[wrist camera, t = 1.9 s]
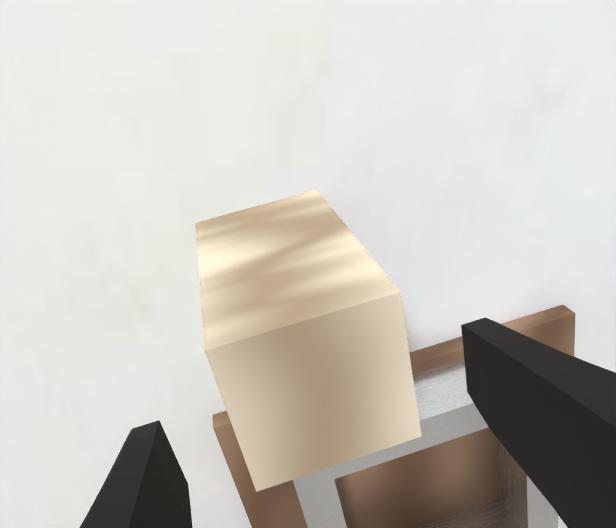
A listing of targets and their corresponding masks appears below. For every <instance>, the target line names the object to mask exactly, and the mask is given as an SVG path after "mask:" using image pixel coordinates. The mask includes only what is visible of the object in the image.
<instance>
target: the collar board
mask: <svg viewBox="0 0 616 528" xmlns="http://www.w3.org/2000/svg"><path fill="white" fill-rule="evenodd" d="M501 325H504V326H506V327H508V328H510V329H512V330H515V331H517V332H519V333H521V334H523V335H525V336H528V337H530V338H532V339H534V340H536V341H539V342H541V343H543V344H545V345H548V346H550V347H552V348H554V349H557V350H559V351H561V352H564V353H566V354H568V355H571V356H573V357H574V340H575V313H574V312H572V311H571V310H570V309H568V308H567V307H566V306H564V305H561V306H558V307H555V308H551V309H548V310H545V311H542V312H539V313H535V314H532V315H529V316H526V317H523V318H520V319H516V320H513V321H510V322H507V323H504V324H501ZM409 354H410V361H411V368H412V375H413V381H414V388H415V395H416V402H417V409H418V416H419V422H420V429H421V436H422V437H419V438H416V439H413V440H410V441H407V442H404V443H401V444H398V445H395V446H392V447H389V448H386V449H383V450H380V451H377V452H374V453H371V454H368V455H365V456H362V457H359V458H356V459H353V460H350V461H347V462H344V463H341V464H338V465H335V466H332V467H329V468H326V469H323V470H320V471H317V472H314V473H311V474H308V475H305V476H302V477H299V478H296V479H293V480H290V481H287V482H284V483H281V484H278V485H275V486H272V487H269V488H266V489H263V490H260V491H257V492H256V489H255V487H254V484H253V481H252V478H251V476H250V473H249V470H248V467H247V465H246V462H245V459H244V457H243V454H242V451H241V448H240V446H239V443H238V440H237V437H236V435H235V432H234V429H233V427H232V424H231V421H230V418H229V416H228V413H227V411H224V412H221V413H218V414H215V415H213V427H214V431H215V433H216V436H217V438H218V441H219V444H220V446H221V449H222V451H223V454H224V456H225V459H226V462H227V464H228V467H229V469H230V472H231V474H232V477H233V480H234V482H235V485H236V487H237V490H238V492H239V495H240V497H241V500H242V503H243V505H244V508H245V510H246V513H247V515H248V518H249V521H250V523H251V526H252V528H558V514H557V512H556V511H555V510H554V508H553V507H552V506H551V504H550V503H549V502H548V501H547V499H546V498H545V497H544V496H543V495H542V493H541V492H540V491H539V490H538V488H537V487H536V486H535V485H534V483H533V482H532V481H531V480H530V478H529V477H528V476H527V475H526V473H525V472H524V471H523V470H522V468H521V467H520V466H519V465H518V464H517V462H516V461H515V460H514V459H513V457H512V456H511V455H510V454H509V452H508V451H507V450H506V449H505V447H504V446H503V445H502V444H501V442H500V441H499V440H498V439H497V437H496V436H495V435H494V433H493V432H492V431H491V430H490V428H489V427H488V425H487V424H486V422H485V420H484V419H483V417H482V416H481V414H480V413H479V411H478V409H477V408H476V406H475V404H474V402H473V401H472V399H471V397H470V396H469V394H468V392H467V384H466V373H465V361H464V350H463V339H462V337H459V338H456V339H453V340H450V341H447V342H443V343H440V344H437V345H434V346H431V347H428V348H424V349H421V350H418V351H415V352H412V353H409Z"/></svg>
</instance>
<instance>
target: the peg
mask: <svg viewBox="0 0 616 528" xmlns="http://www.w3.org/2000/svg"><path fill="white" fill-rule="evenodd" d="M196 236H197V250H198V264H199V278H200V292H201V306H202V320H203V334H204V348H205V353H206V356H207V358H208V361H209V364H210V367H211V369H212V372H213V375H214V377H215V380H216V383H217V386H218V388H219V391H220V394H221V397H222V399H223V402H224V405H225V407H226V410H227V413H228V416H229V418H230V421H231V424H232V427H233V429H234V432H235V435H236V437H237V440H238V443H239V446H240V448H241V451H242V454H243V457H244V459H245V462H246V465H247V467H248V470H249V473H250V476H251V478H252V481H253V484H254V487H255V489H256V492H257V491H260V490H263V489H266V488H269V487H272V486H275V485H278V484H281V483H284V482H287V481H290V480H293V479H296V478H299V477H302V476H305V475H308V474H311V473H314V472H317V471H320V470H323V469H326V468H329V467H332V466H335V465H338V464H341V463H344V462H347V461H350V460H353V459H356V458H359V457H362V456H365V455H368V454H371V453H374V452H377V451H380V450H383V449H386V448H389V447H392V446H395V445H398V444H401V443H404V442H407V441H410V440H413V439H416V438H419V437H422V436H421V429H420V422H419V416H418V409H417V402H416V395H415V388H414V381H413V375H412V368H411V361H410V354H409V347H408V341H407V334H406V327H405V320H404V313H403V307H402V300H401V293H400V291H399V289H398V288H397V287H396V286H395V285H394V283H393V282H392V281H391V280H390V279H389V277H388V276H387V275H386V274H385V272H384V271H383V270H382V269H381V268H380V266H379V265H378V264H377V263H376V261H375V260H374V259H373V258H372V257H371V255H370V254H369V253H368V252H367V251H366V249H365V248H364V247H363V246H362V244H361V243H360V242H359V241H358V240H357V238H356V237H355V236H354V235H353V234H352V232H351V231H350V230H349V229H348V227H347V226H346V225H345V224H344V223H343V221H342V220H341V219H340V218H339V216H338V215H337V214H336V213H335V212H334V210H333V209H332V208H331V207H330V206H329V204H328V203H327V202H326V201H325V199H324V198H323V197H322V196H321V195H320V193H319V192H318V191H317V190H314V191H310V192H307V193H303V194H299V195H296V196H292V197H289V198H285V199H281V200H278V201H274V202H270V203H267V204H263V205H259V206H256V207H252V208H248V209H245V210H241V211H238V212H234V213H230V214H227V215H223V216H219V217H216V218H212V219H208V220H205V221H201V222H198V223H196Z"/></svg>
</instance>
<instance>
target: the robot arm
mask: <svg viewBox="0 0 616 528" xmlns="http://www.w3.org/2000/svg"><path fill="white" fill-rule="evenodd" d="M461 327H462V339H463V350H464V361H465V373H466V384H467V392H468V394H469V396H470V397H471V399H472V401H473V402H474V404H475V406H476V408H477V409H478V411H479V413H480V414H481V416H482V417H483V419H484V420H485V422H486V424H487V425H488V427H489V428H490V430H491V431H492V432H493V433H494V435H495V436H496V437H497V439H498V440H499V441H500V442H501V444H502V445H503V446H504V447H505V449H506V450H507V451H508V452H509V454H510V455H511V456H512V457H513V459H514V460H515V461H516V462H517V464H518V465H519V466H520V467H521V468H522V470H523V471H524V472H525V473H526V475H527V476H528V477H529V478H530V480H531V481H532V482H533V483H534V485H535V486H536V487H537V488H538V490H539V491H540V492H541V493H542V495H543V496H544V497H545V498H546V499H547V501H548V502H549V503H550V504H551V506H552V507H553V508H554V510H555V511H556V512H557V514H558V515H559V516H560V518H561V519H562V520H563V522H564V523H565V524H566V526H567V527H568V528H616V373H615V372H612V371H609V370H607V369H604V368H601V367H599V366H596V365H593V364H591V363H588V362H586V361H583V360H581V359H578V358H576V357H573V356H571V355H568V354H566V353H564V352H561V351H559V350H557V349H554V348H552V347H550V346H548V345H545V344H543V343H541V342H539V341H536V340H534V339H532V338H530V337H528V336H525V335H523V334H521V333H519V332H517V331H515V330H512V329H510V328H508V327H506V326H504V325H501V324H499V323H497V322H495V321H492V320H490V319H487V318H483V319H479V320H476V321H473V322H470V323H467V324H463V325H461ZM80 528H192V519H191V508H190V499H189V490H188V483H187V481H186V479H185V477H184V474H183V472H182V470H181V468H180V465H179V463H178V461H177V459H176V457H175V454H174V452H173V450H172V448H171V445H170V443H169V441H168V439H167V436H166V434H165V432H164V430H163V428H162V425H161V423H160V421H156V422H152V423H149V424H146V425H143V426H140V427H137V428H133V429H132V430H131V431H130V433H129V435H128V437H127V439H126V441H125V443H124V445H123V447H122V449H121V451H120V453H119V455H118V457H117V459H116V461H115V463H114V465H113V467H112V469H111V471H110V473H109V474H108V476H107V478H106V480H105V482H104V484H103V486H102V488H101V490H100V492H99V494H98V495H97V497H96V499H95V501H94V503H93V505H92V507H91V508H90V510H89V512H88V514H87V516H86V517H85V519H84V521H83V523H82V524H81V526H80Z"/></svg>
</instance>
